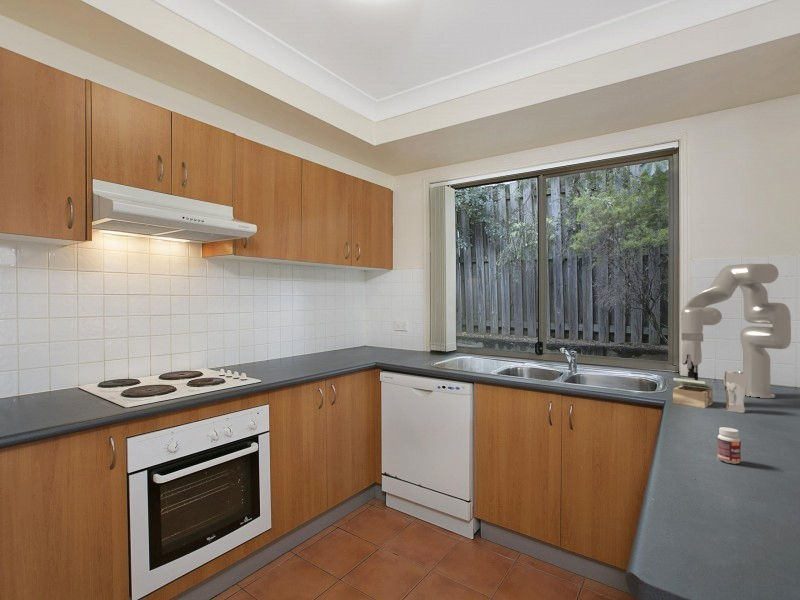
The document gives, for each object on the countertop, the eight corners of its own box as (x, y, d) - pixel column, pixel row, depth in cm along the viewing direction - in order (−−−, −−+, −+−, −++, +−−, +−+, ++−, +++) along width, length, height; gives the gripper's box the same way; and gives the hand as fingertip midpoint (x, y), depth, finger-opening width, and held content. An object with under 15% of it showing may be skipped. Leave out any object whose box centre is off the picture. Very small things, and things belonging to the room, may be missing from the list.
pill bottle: (735, 466, 106) (734, 433, 106) (713, 460, 110) (713, 428, 110) (744, 463, 108) (744, 430, 108) (723, 457, 112) (723, 425, 112)
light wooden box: (681, 399, 183) (681, 385, 183) (712, 403, 174) (712, 389, 175) (672, 403, 175) (672, 388, 175) (704, 408, 167) (704, 392, 167)
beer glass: (726, 411, 161) (725, 372, 161) (722, 408, 167) (722, 370, 167) (749, 414, 157) (748, 374, 158) (744, 410, 164) (744, 371, 164)
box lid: (681, 384, 183) (682, 380, 183) (712, 388, 175) (712, 384, 175) (673, 380, 175) (673, 375, 176) (704, 383, 167) (705, 379, 167)
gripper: (687, 336, 183) (688, 378, 183) (676, 338, 173) (676, 382, 173) (708, 337, 177) (708, 380, 177) (697, 339, 168) (698, 385, 167)
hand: (693, 381), depth 175 cm, fingers closed
